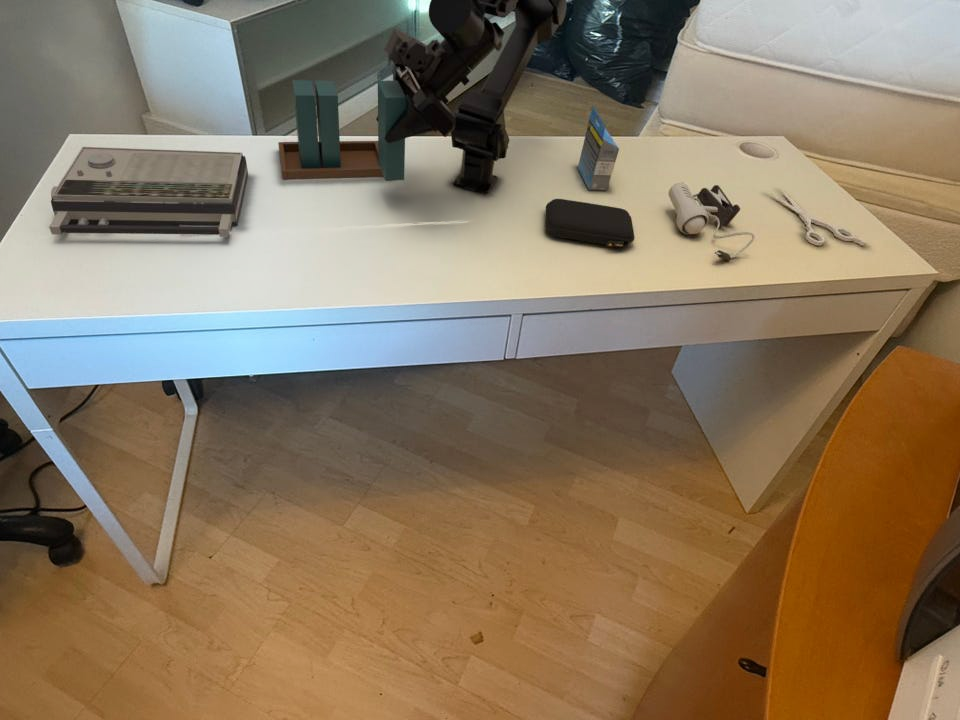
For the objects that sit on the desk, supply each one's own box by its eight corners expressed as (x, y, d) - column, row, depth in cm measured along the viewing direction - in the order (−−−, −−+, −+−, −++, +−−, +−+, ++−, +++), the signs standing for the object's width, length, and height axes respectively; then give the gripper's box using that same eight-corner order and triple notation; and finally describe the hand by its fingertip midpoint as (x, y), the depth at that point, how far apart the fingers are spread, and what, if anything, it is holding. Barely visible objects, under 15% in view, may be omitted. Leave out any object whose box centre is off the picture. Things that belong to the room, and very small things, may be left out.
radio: (244, 146, 99) (228, 212, 85) (248, 176, 102) (234, 244, 89) (76, 139, 94) (30, 208, 80) (87, 171, 98) (45, 243, 84)
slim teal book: (397, 161, 100) (398, 80, 91) (404, 180, 96) (406, 97, 87) (378, 162, 99) (377, 80, 90) (385, 181, 96) (385, 97, 86)
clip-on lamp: (749, 274, 105) (710, 200, 114) (773, 248, 100) (730, 173, 109) (691, 272, 101) (655, 195, 110) (713, 245, 96) (673, 167, 105)
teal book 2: (337, 155, 110) (334, 80, 101) (341, 171, 106) (338, 95, 97) (319, 155, 109) (314, 80, 100) (323, 171, 105) (318, 95, 96)
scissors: (821, 247, 107) (751, 188, 119) (819, 251, 107) (750, 192, 120) (867, 242, 110) (794, 185, 123) (864, 246, 110) (792, 189, 123)
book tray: (378, 151, 114) (378, 140, 113) (388, 179, 107) (388, 168, 106) (279, 153, 109) (278, 141, 108) (283, 182, 102) (281, 171, 101)
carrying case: (542, 242, 99) (633, 256, 99) (546, 226, 97) (638, 240, 97) (544, 209, 106) (628, 222, 107) (547, 193, 104) (633, 206, 104)
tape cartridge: (608, 191, 114) (627, 126, 105) (588, 190, 113) (605, 125, 105) (595, 168, 120) (611, 105, 111) (576, 167, 119) (591, 104, 111)
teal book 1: (317, 155, 109) (312, 80, 100) (320, 171, 105) (315, 95, 96) (299, 155, 108) (292, 80, 99) (302, 172, 104) (295, 95, 95)
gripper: (406, -11, 89) (333, 68, 93) (438, 34, 77) (352, 122, 81) (454, 47, 96) (384, 117, 101) (490, 97, 84) (409, 174, 89)
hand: (382, 131), depth 93 cm, fingers closed on slim teal book, 6 cm apart
